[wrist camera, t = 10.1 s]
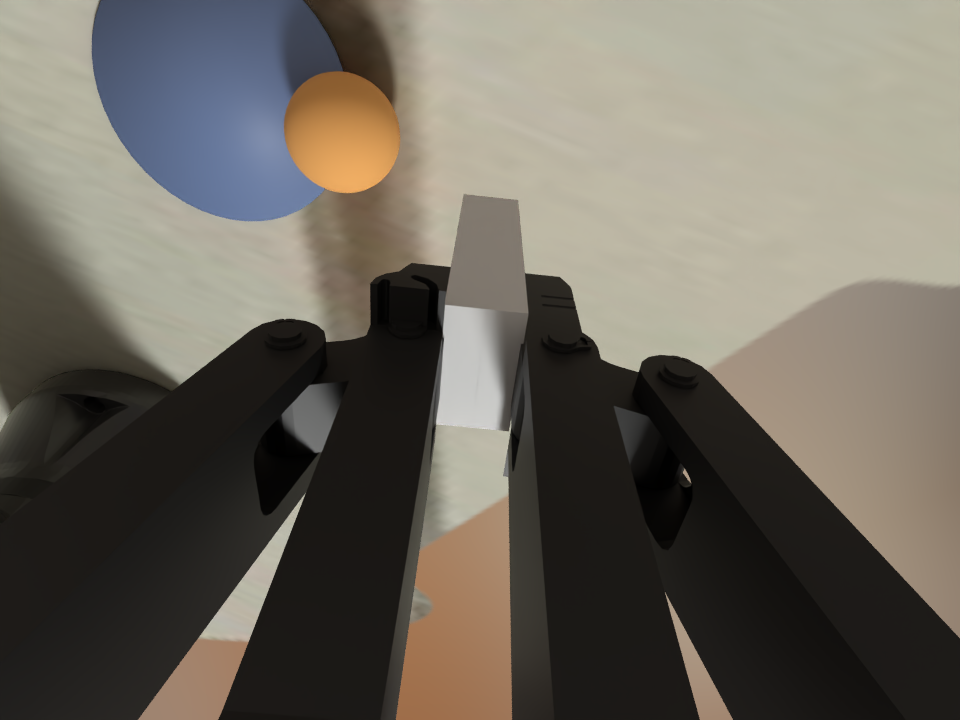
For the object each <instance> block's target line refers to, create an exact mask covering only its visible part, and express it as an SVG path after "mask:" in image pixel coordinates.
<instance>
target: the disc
mask: <svg viewBox="0 0 960 720" xmlns="http://www.w3.org/2000/svg"><path fill="white" fill-rule="evenodd" d="M92 60H93V70H94V76H95V80H96V84H97V89H98V92H99V95H100V98H101V101H102V104H103V107H104V110H105V112H106V114H107V116H108V118H109V120H110V123H111V125H112V127H113V128H114V130H115V132H116V133H117V135H118V137H119V139H120V140H121V142H122V143H123V145H124V146H125V147H126V149H127V150H128V152H129V153H130V154H131V156H132V157H133V158H134V159H135V160H136V162H137V163H138V164H139V165H140V166H141V167H142V168H143V170H144V171H145V172H146V173H148V174H149V175H150V176H151V177H152V178H153V179H154V180H155V181H156V182H157V183H158V184H160V185H161V186H162V187H163V188H165V189H166V190H167V191H169V192H170V193H171V194H173V195H174V196H176V197H178V198H179V199H181V200H182V201H184V202H186V203H188V204H190V205H192V206H194V207H196V208H198V209H200V210H202V211H205V212H207V213H210V214H213V215H216V216H220V217H224V218H228V219H233V220H241V221H264V220H272V219H276V218H280V217H283V216H287V215H289V214H291V213H294V212H296V211H298V210H300V209H302V208H303V207H305V206H306V205H308V204H309V203H311V202H312V201H313V200H314V199H315V198H317V197H318V196H319V195H320V194H321V193H322V192H323V191H324V189H325V188H323V187H321V186H319V185H317V184H315V183H314V182H312V181H311V180H310V179H308V178H307V177H306V176H305V175H304V174H303V173H302V172H301V171H300V170H299V168H298V167H297V166H296V164H295V163H294V161H293V159H292V157H291V156H290V153H289V151H288V148H287V145H286V141H285V135H284V118H285V113H286V109H287V106H288V103H289V101H290V99H291V97H292V96H293V94H294V93H295V91H296V90H297V89H298V88H299V87H300V86H301V85H302V84H303V83H304V82H306V81H307V80H308V79H310V78H312V77H314V76H316V75H318V74H321V73H325V72H333V71H341V72H344V71H343V68H342V66H341V63H340V60H339V57H338V55H337V52H336V50H335V48H334V46H333V44H332V42H331V40H330V38H329V36H328V34H327V32H326V31H325V29H324V27H323V26H322V24H321V23H320V21H319V20H318V18H317V16H316V15H315V14H314V13H313V11H312V10H311V9H310V8H309V6H308V5H307V4H306V3H305V1H304V0H101V2H100V4H99V8H98V11H97V14H96V17H95V22H94V28H93V35H92Z"/></svg>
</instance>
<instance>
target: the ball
mask: <svg viewBox="0 0 960 720" xmlns="http://www.w3.org/2000/svg"><path fill="white" fill-rule="evenodd" d="M284 135H285V141H286V145H287V148H288V151H289V153H290V156H291V157H292V159H293V161H294V163H295V164H296V166H297V167H298V168H299V170H300V171H301V172H302V173H303V174H304V175H305V176H306V177H307V178H308V179H310V180H311V181H312V182H314V183H315V184H317V185H319V186H321V187H323V188H325V189H328V190H331V191H334V192H341V193H354V192H359V191H363V190H366V189H368V188H370V187H372V186H374V185H376V184H377V183H379V182H380V181H381V180H382V179H383V178H384V177H385V176H386V175H387V174H388V173H389V171H390V170H391V168H392V167H393V165H394V163H395V160H396V158H397V155H398V151H399V146H400V130H399V123H398V120H397V116H396V114H395V111H394V109H393V107H392V105H391V104H390V102H389V100H388V99H387V97H386V96H385V95H384V94H383V93H382V92H381V90H380V89H379V88H377V87H376V86H375V85H374V84H373V83H371V82H370V81H368V80H366V79H365V78H363V77H360V76H358V75H356V74H353V73H349V72H341V71H333V72H325V73H321V74H318V75H316V76H314V77H312V78H310V79H308V80H307V81H306V82H304V83H303V84H302V85H301V86H300V87H299V88H298V89H297V90H296V91H295V93H294V94H293V96H292V97H291V99H290V101H289V103H288V106H287V109H286V113H285V118H284Z"/></svg>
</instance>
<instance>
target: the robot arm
mask: <svg viewBox="0 0 960 720" xmlns="http://www.w3.org/2000/svg"><path fill="white" fill-rule="evenodd" d="M573 299H574V298H573V294H572V290H571V287H570V286H569V285H568V284H567V283H566V282H565V281H564V280H563V279H561V278H560V277H554V276H545V275H535V274H526V273H525V270H524V259H523V248H522V237H521V227H520V216H519V205H518V200H512V199H503V198H493V197H484V196H475V195H466V194H464V196H463V202H462V208H461V213H460V219H459V225H458V230H457V236H456V241H455V247H454V253H453V258H452V264H451V267H444V266H435V265H425V264H416V263H411V264H409V265H408V266H406V267H405V268H404V269H402V270H401V271H399V272H393V273H386V274H384V275H381V276H379V277H377V278H375V279H374V280H373V281H372V282H371V283H370V307H371V325H370V328H369V330H368V333H367V335H366V336H364V337H360V338H357V339H352V340H345V341H335V342H326V338H325V333H324V331H323V330H322V329H321V328H320V327H319V326H317V325H315V324H312V323H310V322H307V321H302V320H295V319H286V320H284V319H279V320H275V321H272V322H268V323H264V324H261V325H260V326H258V327H256V328H254V329H252V330H251V331H249V332H248V333H247V334H245V335H244V336H243V337H242V338H240V339H239V340H238V341H236V342H235V343H234V344H233V345H231V346H230V347H229V348H227V349H226V350H225V351H223V352H222V353H221V354H220V355H218V356H217V357H216V358H214V359H213V360H212V361H211V362H209V363H208V364H207V365H205V366H204V367H203V368H202V369H200V370H199V371H198V372H196V373H195V374H194V375H192V376H191V377H190V378H189V379H187V380H186V381H185V382H183V383H182V384H181V385H180V386H178V387H177V388H176V389H174V390H173V391H172V392H169V391H168V390H166V389H164V388H162V387H160V386H157V385H155V384H153V383H151V382H148V381H146V380H143V379H140V378H137V377H134V376H130V375H126V374H122V373H117V372H111V371H102V370H81V371H73V372H68V373H63V374H60V375H57V376H55V377H52V378H50V379H48V380H47V381H45V382H44V383H42V384H41V385H39V386H38V387H37V388H36V389H35V390H34V391H32V392H31V393H30V394H29V395H28V396H27V397H25V398H24V399H23V400H22V401H21V402H20V403H19V404H18V405H17V406H16V407H15V408H14V409H13V410H12V412H11V413H10V415H9V416H8V418H7V420H6V422H5V424H4V426H3V428H2V430H1V432H0V720H138V719H139V717H140V716H141V715H142V713H143V712H144V710H145V709H146V708H147V706H148V705H149V704H150V702H151V701H152V700H153V698H154V697H155V696H156V694H157V693H158V692H159V690H160V689H161V688H162V686H163V685H164V683H165V682H166V681H167V680H168V678H169V677H170V675H171V674H172V673H173V671H174V670H175V669H176V667H177V666H178V665H179V663H180V662H181V661H182V659H183V658H184V656H185V655H186V654H187V652H188V651H189V650H190V648H191V647H192V645H193V644H194V643H195V642H196V640H197V639H198V638H199V636H200V635H201V633H202V632H203V631H204V629H205V628H206V627H207V625H208V624H209V623H210V621H211V620H212V619H213V617H214V616H215V615H216V613H217V612H218V610H219V609H220V608H221V606H222V605H223V604H224V602H225V601H226V600H227V598H228V597H229V596H230V594H231V593H232V592H233V590H234V589H235V587H236V586H237V585H238V583H239V582H240V581H241V579H242V578H243V577H244V575H245V574H246V573H247V571H248V570H249V569H250V567H251V566H252V564H253V563H254V562H255V560H256V559H257V558H258V556H259V555H260V554H261V552H262V551H263V550H264V548H265V547H266V545H267V544H268V543H269V541H270V540H271V539H272V537H273V536H274V535H275V533H276V532H277V531H278V529H279V528H280V527H281V525H282V524H283V522H284V521H285V520H286V518H287V517H288V516H289V514H290V513H291V512H292V510H293V509H294V508H295V506H296V505H297V504H298V502H299V501H300V499H301V498H302V497H303V495H304V494H305V493H306V494H305V497H304V499H303V502H302V505H301V507H300V510H299V512H298V515H297V518H296V520H295V523H294V525H293V528H292V531H291V533H290V536H289V539H288V541H287V544H286V546H285V549H284V552H283V554H282V557H281V559H280V562H279V565H278V567H277V570H276V572H275V575H274V578H273V580H272V583H271V585H270V588H269V591H268V593H267V596H266V598H265V601H264V604H263V606H262V609H261V611H260V614H259V617H258V619H257V622H256V624H255V627H254V630H253V632H252V635H251V637H250V640H249V643H248V645H247V648H246V650H245V654H244V656H243V658H242V661H241V664H240V666H239V669H238V672H237V674H236V677H235V679H234V682H233V684H232V687H231V690H230V692H229V695H228V697H227V700H226V703H225V705H224V708H223V710H222V713H221V715H220V717H219V719H218V720H396V714H397V705H398V698H399V692H400V685H401V678H402V671H403V664H404V656H405V649H406V642H407V635H408V628H409V621H410V614H411V607H412V599H413V592H414V585H415V578H416V571H417V563H418V556H419V549H420V542H421V535H422V528H423V521H424V514H425V507H426V500H427V492H428V485H429V478H430V471H431V464H432V457H433V450H434V443H435V430H436V424H440V425H450V426H460V427H471V428H481V429H491V430H502V431H509V427H510V421H511V424H512V427H511V433H510V439H509V445H508V451H507V457H506V463H505V468H504V474H503V476H506V477H508V478H509V538H510V542H509V543H510V606H511V665H512V667H511V669H512V671H511V672H512V720H700V719H699V715H698V712H697V708H696V704H695V701H694V698H693V693H692V690H691V686H690V682H689V679H688V675H687V672H686V668H685V664H684V661H683V657H682V653H681V650H680V646H679V642H678V639H677V635H676V632H675V628H674V624H673V620H672V617H671V614H670V610H669V606H668V602H667V599H666V595H665V592H666V594H667V596H668V598H669V600H670V602H671V604H672V606H673V608H674V609H675V611H676V613H677V615H678V617H679V619H680V621H681V623H682V624H683V626H684V628H685V630H686V632H687V634H688V636H689V638H690V640H691V641H692V643H693V645H694V647H695V649H696V651H697V653H698V655H699V656H700V658H701V660H702V662H703V664H704V666H705V668H706V670H707V671H708V673H709V675H710V677H711V679H712V681H713V683H714V685H715V686H716V688H717V690H718V692H719V694H720V696H721V698H722V699H723V702H724V703H725V705H726V707H727V709H728V711H729V713H730V715H731V716H732V718H733V720H960V638H959V637H958V636H957V635H956V634H955V633H954V632H953V631H952V630H951V629H950V627H949V626H948V625H947V624H946V623H945V622H944V621H943V620H942V619H941V618H940V617H939V616H938V615H937V614H936V613H935V612H934V610H933V609H932V608H931V607H930V606H929V605H928V604H927V603H926V602H925V601H924V600H923V599H922V598H921V597H920V596H919V594H918V593H917V592H916V591H915V590H914V589H913V588H912V587H911V586H910V585H909V584H908V583H907V582H906V581H905V580H904V579H903V577H902V576H900V574H899V573H898V572H897V571H896V570H895V569H894V568H893V567H892V566H891V565H890V564H889V563H888V562H887V560H885V558H884V557H883V556H882V555H881V554H880V553H879V552H878V551H877V550H876V549H875V548H874V547H873V546H872V544H871V543H869V541H868V540H867V539H866V538H865V537H864V536H863V535H862V534H861V533H860V532H859V531H858V530H857V529H856V528H855V526H854V525H853V524H852V523H851V522H850V521H849V520H848V519H847V518H846V517H845V516H844V515H843V514H842V513H841V512H840V511H839V509H837V507H836V506H835V505H834V504H833V503H832V502H831V501H830V500H829V499H828V498H827V497H826V496H825V495H824V494H823V492H822V491H821V490H820V489H819V488H818V487H817V486H816V485H815V484H814V483H813V482H812V481H811V480H810V479H809V478H808V476H807V475H806V474H805V473H804V472H803V471H802V470H801V469H800V468H799V467H798V466H797V465H796V464H795V463H794V462H793V460H792V459H791V458H790V457H789V456H788V455H787V454H786V453H785V452H784V451H783V450H782V449H781V448H780V447H779V446H778V444H776V443H775V441H774V440H773V439H772V438H771V437H770V436H769V435H768V434H767V433H766V432H765V431H764V430H763V429H762V427H761V426H759V424H758V423H757V422H756V421H755V420H754V419H753V418H752V417H751V416H750V415H749V414H748V413H747V412H746V411H745V410H744V408H743V407H742V406H741V405H740V404H739V403H738V402H737V401H736V400H735V399H734V398H733V397H732V396H731V395H730V393H728V392H727V390H726V389H725V388H724V387H723V386H722V385H721V384H720V383H719V382H718V381H717V380H716V379H715V377H714V376H713V375H712V374H710V373H709V372H708V371H707V370H705V369H704V368H703V367H702V366H700V365H698V364H696V363H693V362H691V361H690V360H688V359H685V358H680V357H678V356H666V355H658V356H652V357H648V358H647V359H645V360H644V361H642V363H641V367H640V370H639V372H636V371H632V370H629V369H625V368H622V367H618V366H616V365H613V364H610V363H608V362H606V361H604V360H602V359H601V358H600V354H599V351H598V347H597V346H596V344H595V342H594V341H593V340H592V339H591V338H590V337H588V336H587V335H585V334H584V333H582V330H581V326H580V322H579V318H578V314H577V310H576V306H575V302H574V300H573ZM684 468H685V469H686V471H687V473H688V475H689V477H690V480H691V483H690V482H689V481H688V480H687V478H686V477H685V475H684V474H683V471H684ZM306 491H307V492H306Z"/></svg>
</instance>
